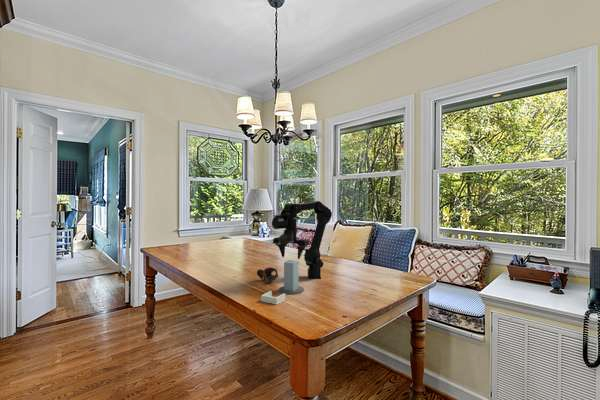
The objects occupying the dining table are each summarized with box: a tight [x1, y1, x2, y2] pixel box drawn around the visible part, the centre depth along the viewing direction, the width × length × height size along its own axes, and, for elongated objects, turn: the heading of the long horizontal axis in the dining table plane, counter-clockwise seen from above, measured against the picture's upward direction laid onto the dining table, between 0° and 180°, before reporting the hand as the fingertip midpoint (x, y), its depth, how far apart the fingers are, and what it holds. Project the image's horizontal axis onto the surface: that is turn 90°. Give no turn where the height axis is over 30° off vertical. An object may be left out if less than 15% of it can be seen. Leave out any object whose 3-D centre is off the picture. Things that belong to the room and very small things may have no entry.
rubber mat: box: [278, 285, 305, 295], centre depth 137 cm, size 12×12×1 cm
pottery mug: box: [256, 266, 279, 285], centre depth 152 cm, size 12×10×8 cm
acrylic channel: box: [260, 290, 286, 305], centre depth 123 cm, size 7×8×2 cm
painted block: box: [283, 259, 299, 291], centre depth 137 cm, size 5×5×13 cm
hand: (290, 258), depth 148 cm, fingers open, 9 cm apart
